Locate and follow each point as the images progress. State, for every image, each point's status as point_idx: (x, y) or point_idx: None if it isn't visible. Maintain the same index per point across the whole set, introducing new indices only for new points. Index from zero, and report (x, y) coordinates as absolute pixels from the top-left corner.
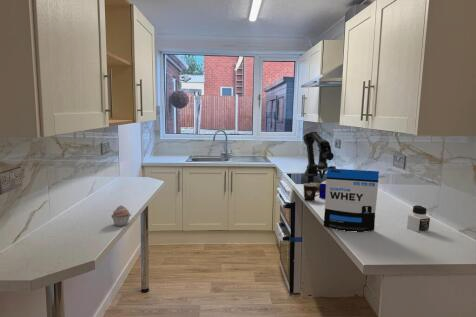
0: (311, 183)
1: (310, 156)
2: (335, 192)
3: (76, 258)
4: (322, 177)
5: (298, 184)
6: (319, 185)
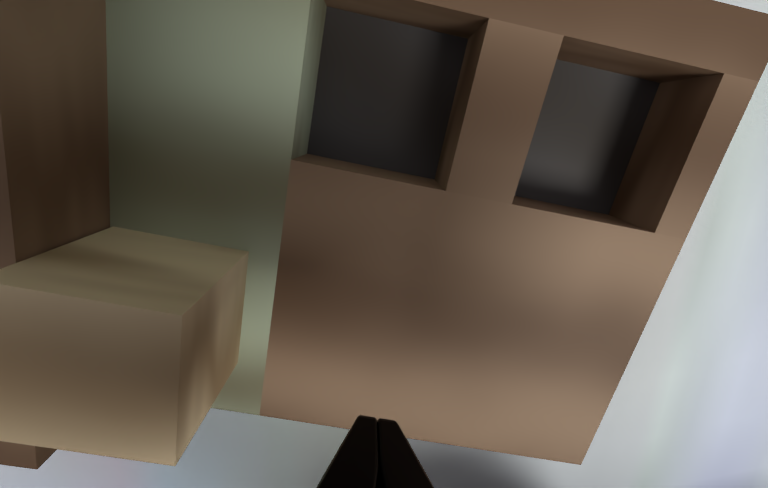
0: (581, 388)
1: None
2: None
3: None
4: (345, 457)
5: (722, 470)
6: (422, 249)
